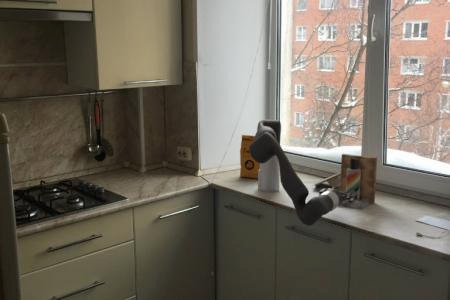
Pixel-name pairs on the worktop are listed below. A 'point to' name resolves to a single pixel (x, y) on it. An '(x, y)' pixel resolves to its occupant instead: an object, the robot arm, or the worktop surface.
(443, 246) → the worktop surface
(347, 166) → the cleat board
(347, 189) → the lotion bottle
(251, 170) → the coffee package
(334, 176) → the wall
